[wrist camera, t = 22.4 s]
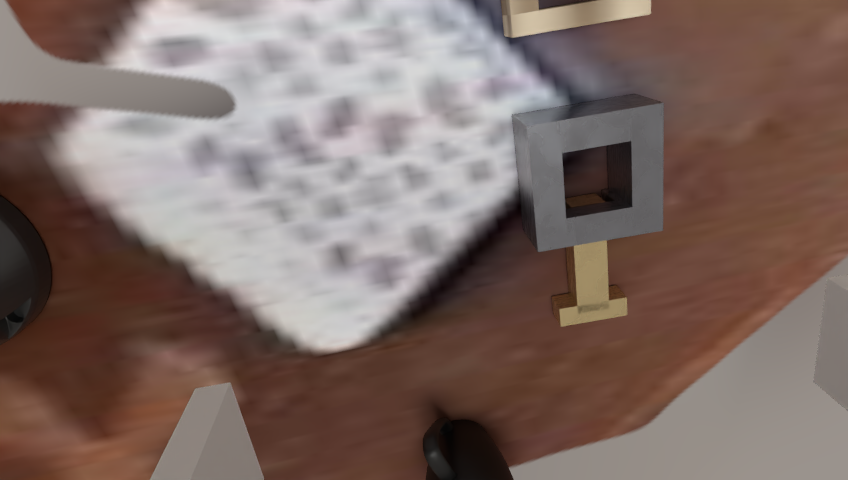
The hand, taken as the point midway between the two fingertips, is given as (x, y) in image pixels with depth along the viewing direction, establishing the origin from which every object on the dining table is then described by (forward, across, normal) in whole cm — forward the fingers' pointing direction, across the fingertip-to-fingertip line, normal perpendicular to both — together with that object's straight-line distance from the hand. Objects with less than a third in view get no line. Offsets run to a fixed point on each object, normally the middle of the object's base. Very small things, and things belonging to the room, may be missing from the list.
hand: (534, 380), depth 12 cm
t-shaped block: (+35, +12, -14) cm, 39 cm away
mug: (+35, -2, -31) cm, 47 cm away
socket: (+35, +12, -6) cm, 37 cm away
